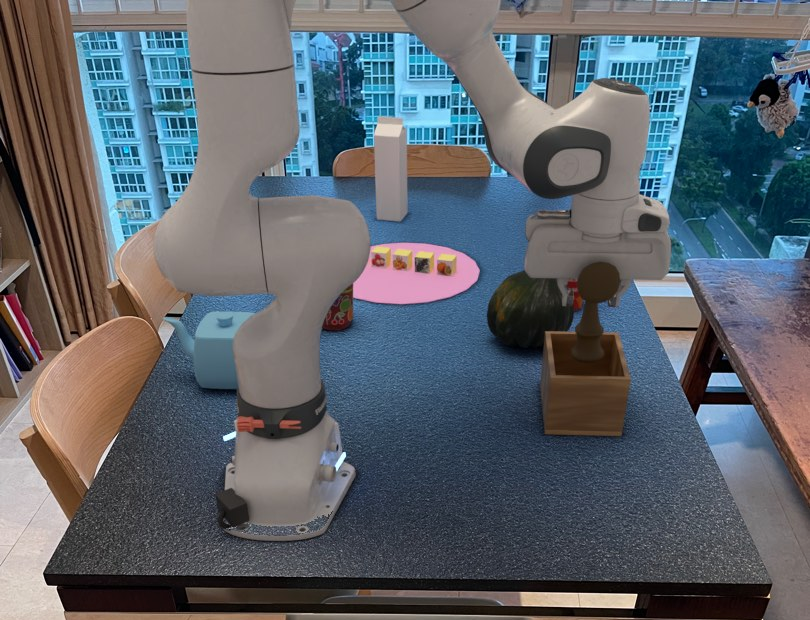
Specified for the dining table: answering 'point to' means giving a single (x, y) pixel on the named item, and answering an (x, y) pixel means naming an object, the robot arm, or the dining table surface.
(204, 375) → the teapot
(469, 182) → the dining table surface
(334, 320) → the smoothie
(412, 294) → the platter
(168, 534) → the dining table surface
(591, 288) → the kendama
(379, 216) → the milk
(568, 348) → the caddy
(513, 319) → the squash
